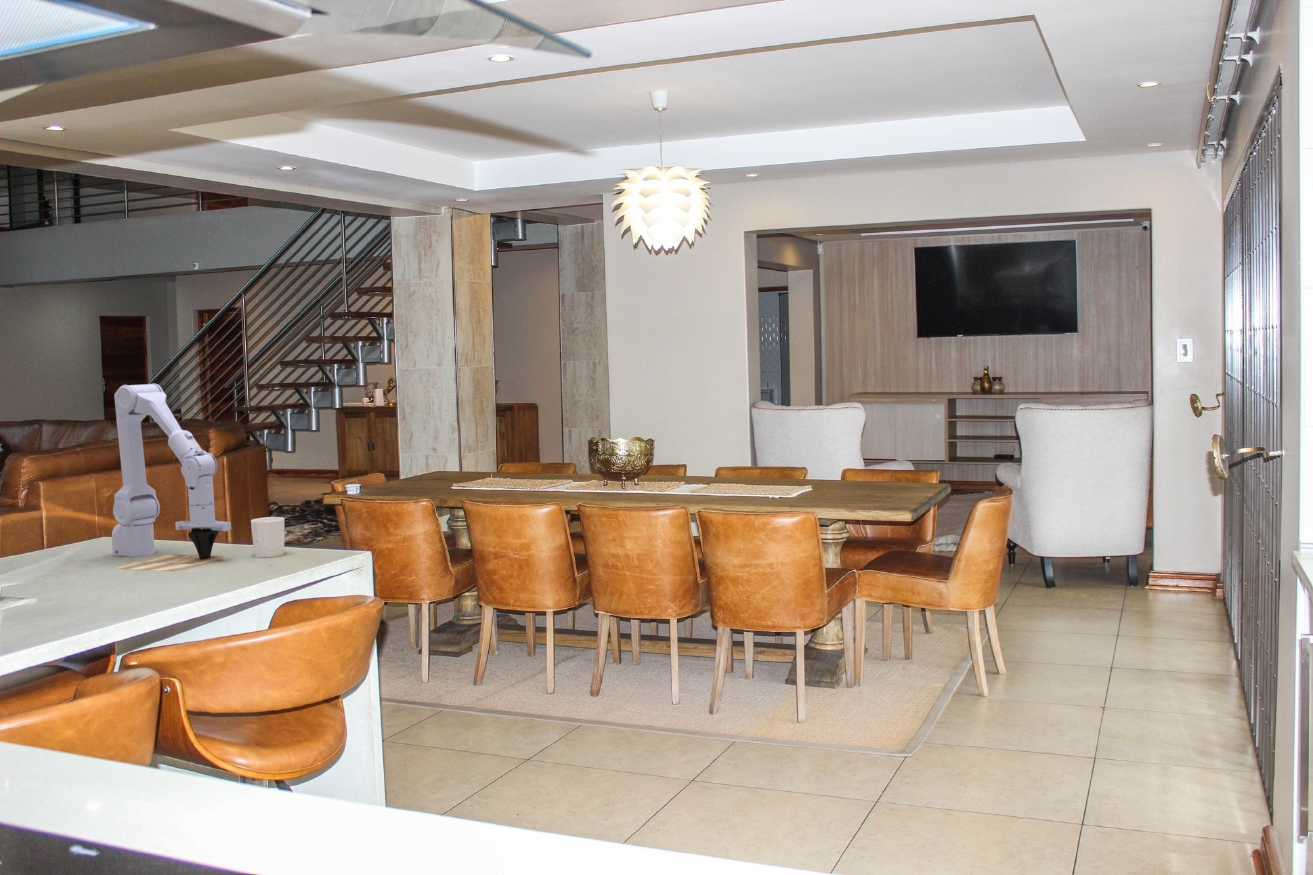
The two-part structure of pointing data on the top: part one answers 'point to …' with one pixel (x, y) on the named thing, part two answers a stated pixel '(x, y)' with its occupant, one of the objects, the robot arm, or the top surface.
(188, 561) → the plank
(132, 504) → the robot arm
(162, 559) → the plank
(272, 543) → the white cup
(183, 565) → the floor board
